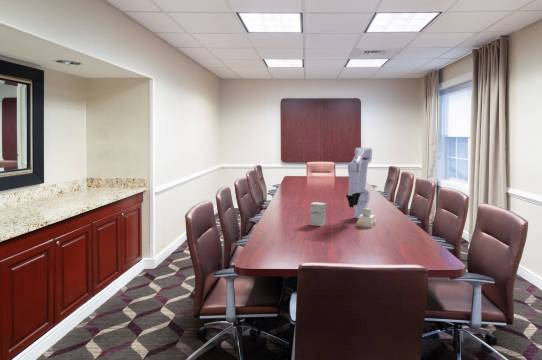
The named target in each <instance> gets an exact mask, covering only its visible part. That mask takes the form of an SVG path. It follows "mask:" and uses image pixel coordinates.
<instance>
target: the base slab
mask: <svg viewBox="0 0 542 360" xmlns="http://www.w3.org/2000/svg"><path fill="white" fill-rule="evenodd" d="M376 225H377V220H376V219H375V221H373V222H372V223H368V222H358V220H357V221H356V227H363V228H370V229H371V228H374V227H375V226H376Z"/></svg>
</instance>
